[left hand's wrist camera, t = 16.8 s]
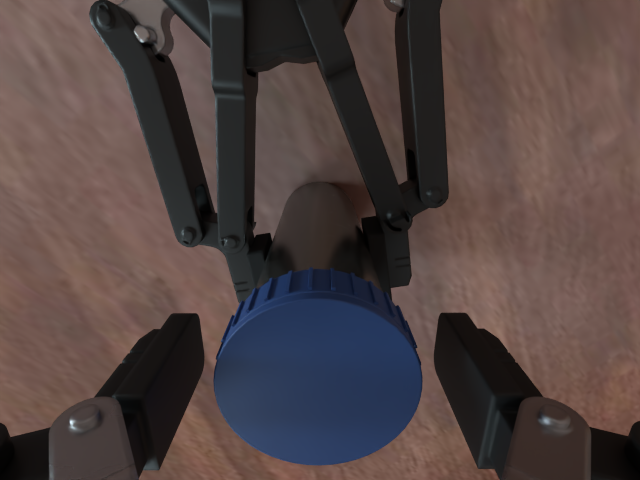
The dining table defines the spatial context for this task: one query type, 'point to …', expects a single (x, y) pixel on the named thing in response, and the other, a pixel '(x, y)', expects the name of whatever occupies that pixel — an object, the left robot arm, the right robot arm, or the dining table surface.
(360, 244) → the brown cylinder
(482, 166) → the dining table surface
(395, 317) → the lid
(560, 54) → the dining table surface
